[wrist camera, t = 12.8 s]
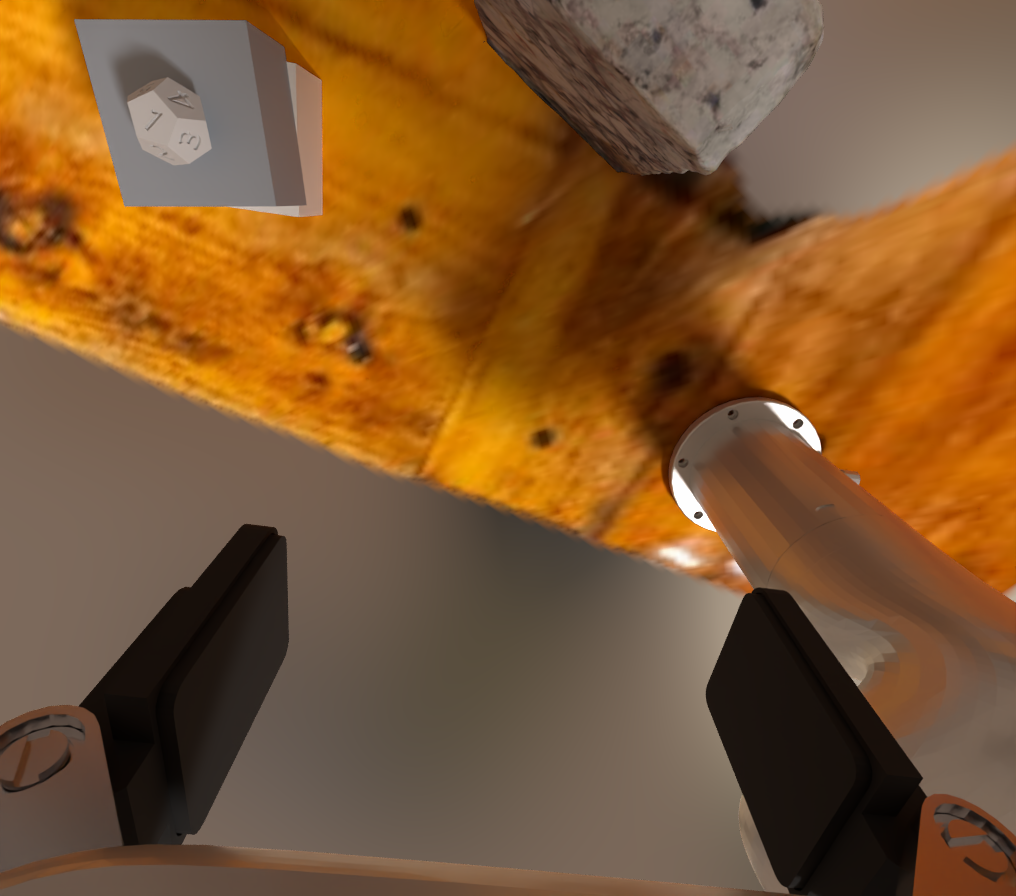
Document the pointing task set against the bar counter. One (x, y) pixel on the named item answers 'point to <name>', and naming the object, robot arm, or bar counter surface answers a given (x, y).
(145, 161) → the upper block
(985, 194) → the bar counter surface
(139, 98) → the game die
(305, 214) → the lower block
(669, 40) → the stone block
